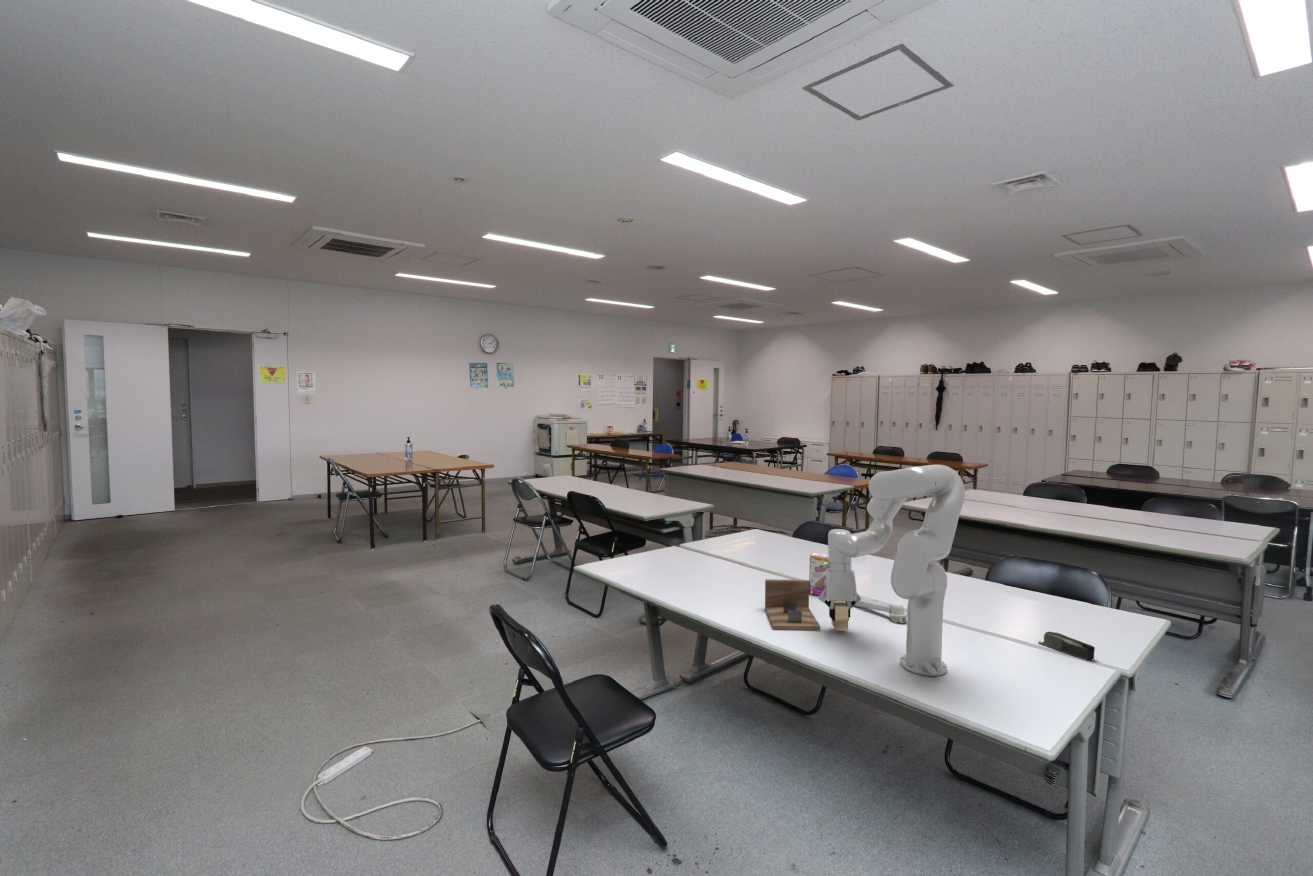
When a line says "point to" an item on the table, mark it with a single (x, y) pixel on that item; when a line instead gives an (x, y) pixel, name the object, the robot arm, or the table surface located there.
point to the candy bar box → (817, 573)
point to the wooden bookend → (789, 605)
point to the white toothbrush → (884, 608)
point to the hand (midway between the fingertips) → (839, 619)
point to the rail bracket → (840, 616)
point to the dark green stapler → (1068, 645)
